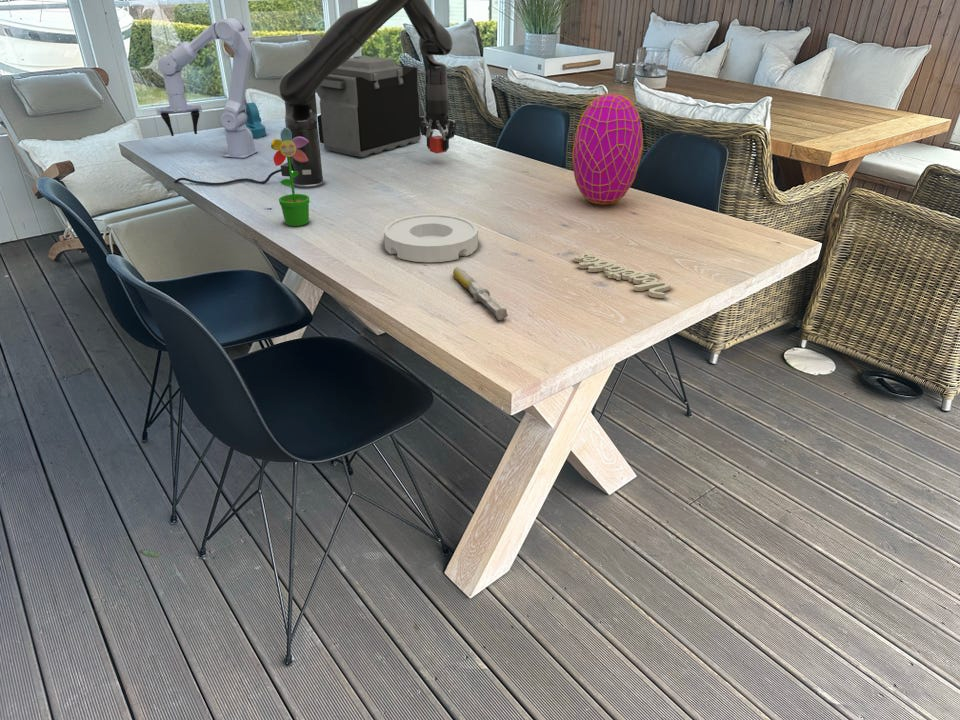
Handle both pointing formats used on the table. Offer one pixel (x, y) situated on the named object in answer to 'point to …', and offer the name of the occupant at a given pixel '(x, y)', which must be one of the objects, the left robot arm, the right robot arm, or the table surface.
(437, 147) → the block
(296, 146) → the potted flower
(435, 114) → the right robot arm
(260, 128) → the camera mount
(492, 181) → the table surface
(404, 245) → the ashtray
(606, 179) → the decorative egg
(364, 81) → the cooler box
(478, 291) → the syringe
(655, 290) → the decorative sign
